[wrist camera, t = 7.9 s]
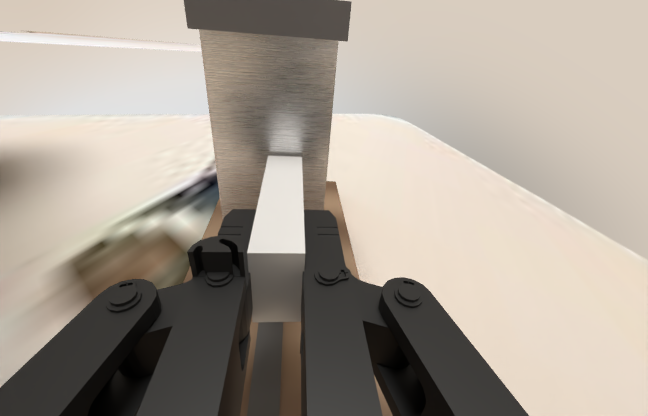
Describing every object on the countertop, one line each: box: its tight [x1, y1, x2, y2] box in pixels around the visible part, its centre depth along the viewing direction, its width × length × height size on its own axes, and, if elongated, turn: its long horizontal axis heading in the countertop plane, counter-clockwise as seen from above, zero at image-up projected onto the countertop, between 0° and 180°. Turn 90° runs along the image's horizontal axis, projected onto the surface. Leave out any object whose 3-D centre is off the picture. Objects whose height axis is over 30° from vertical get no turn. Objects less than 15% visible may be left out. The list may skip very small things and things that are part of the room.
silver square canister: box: [184, 0, 351, 219], centre depth 16 cm, size 6×6×13 cm
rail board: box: [183, 181, 393, 416], centre depth 17 cm, size 28×10×2 cm, turn 5°
